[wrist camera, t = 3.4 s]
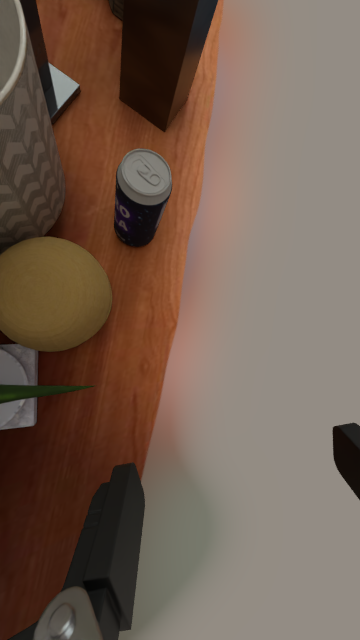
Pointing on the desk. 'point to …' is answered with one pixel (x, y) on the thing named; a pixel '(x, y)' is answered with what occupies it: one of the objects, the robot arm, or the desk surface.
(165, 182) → the beverage can
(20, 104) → the planter
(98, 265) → the yellow round bun shape
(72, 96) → the basin
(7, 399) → the dinosaur figurine
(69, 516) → the desk surface
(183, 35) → the stand
